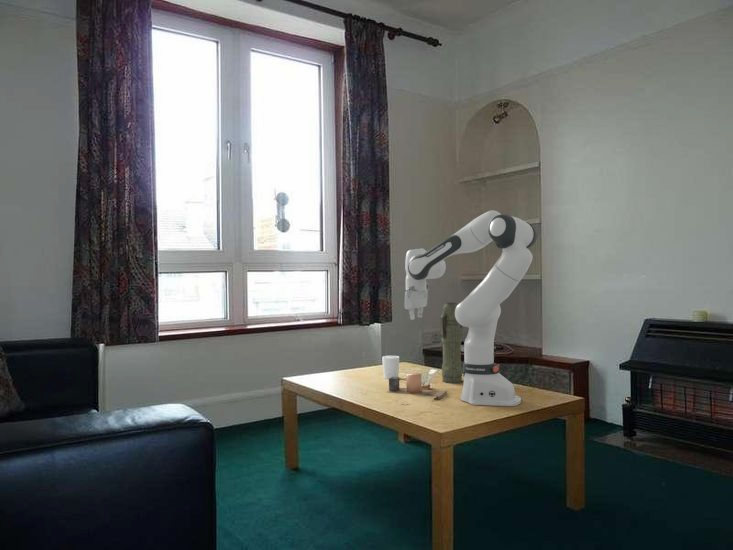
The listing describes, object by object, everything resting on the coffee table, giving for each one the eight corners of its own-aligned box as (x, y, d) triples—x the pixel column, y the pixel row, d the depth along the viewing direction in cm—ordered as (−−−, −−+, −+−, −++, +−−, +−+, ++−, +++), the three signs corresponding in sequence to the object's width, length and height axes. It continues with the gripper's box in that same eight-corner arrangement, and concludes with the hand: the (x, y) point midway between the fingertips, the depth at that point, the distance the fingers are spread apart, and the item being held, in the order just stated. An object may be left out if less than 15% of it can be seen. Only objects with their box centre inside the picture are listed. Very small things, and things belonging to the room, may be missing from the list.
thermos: (435, 381, 251) (434, 303, 250) (453, 378, 258) (452, 301, 258) (450, 384, 244) (449, 303, 244) (468, 380, 252) (467, 302, 251)
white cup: (388, 380, 254) (388, 358, 254) (379, 378, 261) (379, 356, 261) (402, 378, 258) (402, 357, 258) (393, 376, 265) (393, 355, 265)
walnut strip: (446, 394, 224) (446, 378, 224) (439, 399, 215) (439, 383, 215) (395, 390, 233) (395, 375, 233) (386, 395, 224) (386, 379, 224)
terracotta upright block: (423, 390, 226) (423, 373, 226) (419, 393, 221) (418, 375, 221) (409, 389, 229) (409, 372, 228) (404, 392, 223) (404, 374, 223)
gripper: (415, 287, 230) (415, 320, 230) (429, 285, 248) (430, 316, 249) (400, 287, 232) (400, 320, 232) (416, 285, 251) (416, 316, 251)
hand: (416, 318), depth 241 cm, fingers open, 8 cm apart
